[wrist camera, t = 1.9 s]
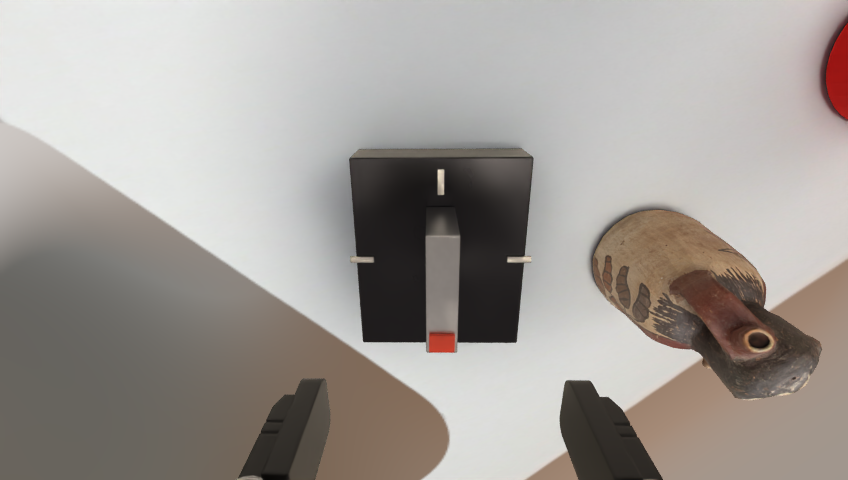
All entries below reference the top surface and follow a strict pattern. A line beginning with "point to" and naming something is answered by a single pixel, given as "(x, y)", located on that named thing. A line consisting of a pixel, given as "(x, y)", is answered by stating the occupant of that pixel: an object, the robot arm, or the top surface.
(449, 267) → the grey rectangular block
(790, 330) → the figurine
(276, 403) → the robot arm
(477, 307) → the tap plate
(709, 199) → the top surface
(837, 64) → the soda can
